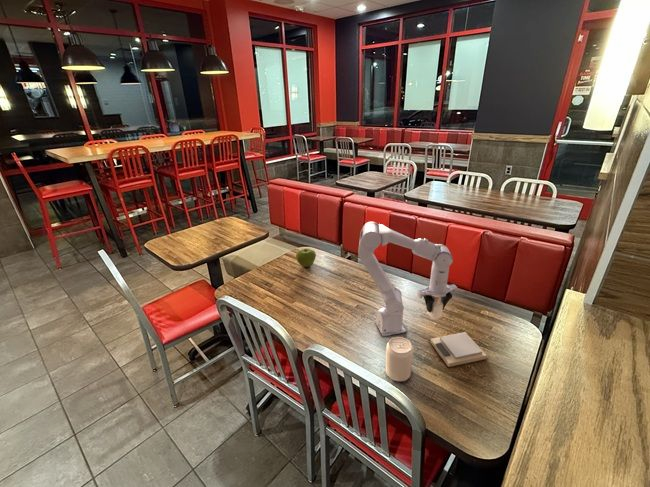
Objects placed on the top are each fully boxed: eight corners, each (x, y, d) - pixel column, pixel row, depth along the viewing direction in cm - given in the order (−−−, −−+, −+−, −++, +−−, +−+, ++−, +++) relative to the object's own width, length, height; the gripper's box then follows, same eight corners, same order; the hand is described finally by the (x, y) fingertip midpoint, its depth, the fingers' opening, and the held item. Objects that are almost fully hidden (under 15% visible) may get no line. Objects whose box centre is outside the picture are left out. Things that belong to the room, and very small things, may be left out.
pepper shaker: (434, 320, 114) (437, 299, 110) (426, 314, 118) (428, 294, 114) (442, 317, 116) (445, 296, 112) (434, 311, 119) (436, 290, 115)
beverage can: (382, 364, 105) (383, 336, 100) (406, 361, 106) (408, 334, 101) (389, 384, 98) (390, 355, 93) (414, 381, 98) (417, 352, 93)
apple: (294, 270, 166) (293, 253, 162) (299, 260, 176) (297, 244, 171) (314, 270, 164) (313, 254, 160) (318, 261, 174) (317, 245, 170)
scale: (448, 367, 103) (449, 361, 102) (430, 342, 114) (430, 336, 112) (485, 359, 105) (487, 353, 104) (464, 335, 116) (465, 329, 115)
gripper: (425, 287, 105) (422, 319, 111) (464, 281, 108) (458, 312, 113) (415, 277, 111) (413, 308, 117) (452, 271, 114) (448, 301, 120)
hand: (434, 309), depth 116 cm, fingers closed on pepper shaker, 4 cm apart
